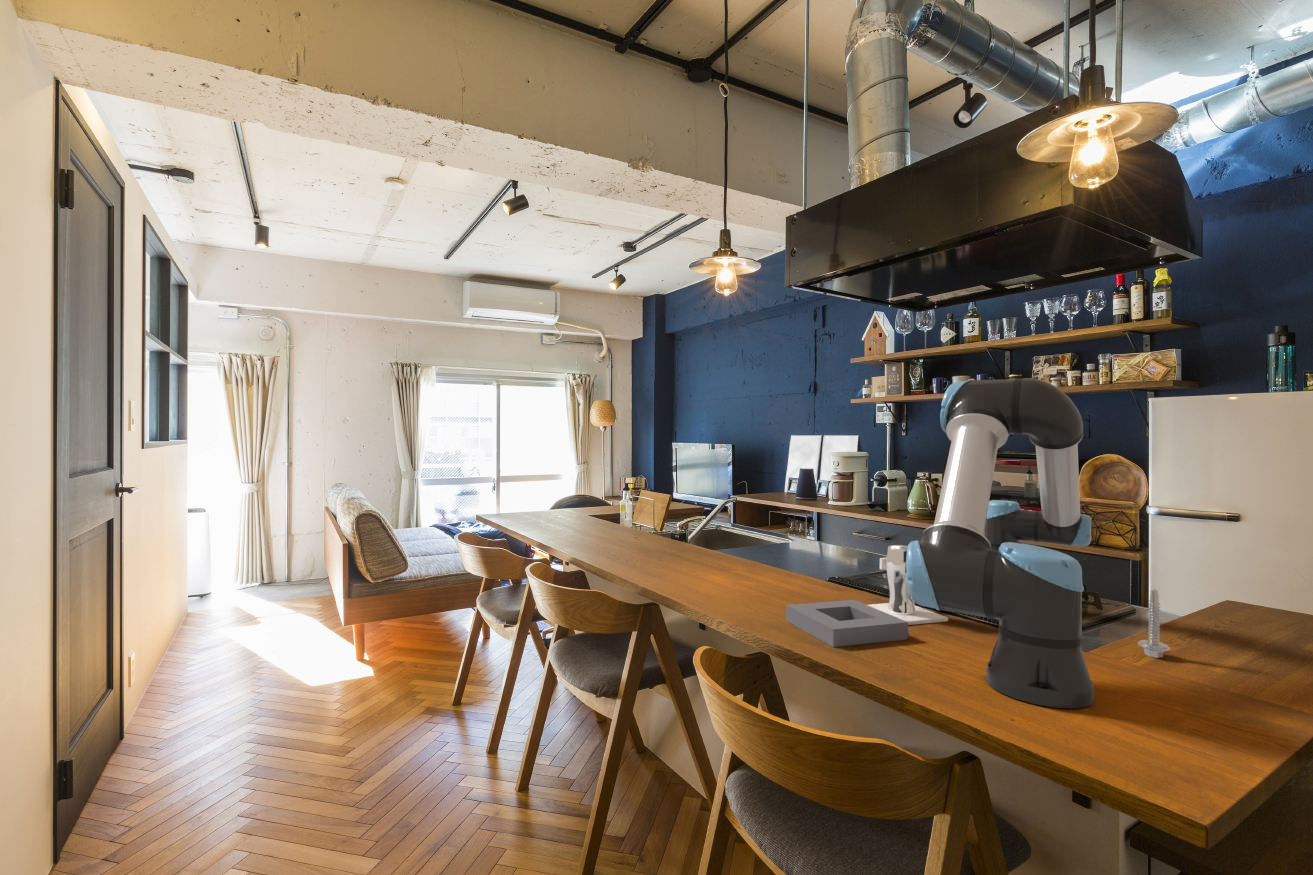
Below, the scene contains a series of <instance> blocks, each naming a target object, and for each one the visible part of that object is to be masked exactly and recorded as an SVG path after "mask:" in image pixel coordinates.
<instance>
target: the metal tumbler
mask: <svg viewBox="0 0 1313 875" xmlns="http://www.w3.org/2000/svg"><path fill="white" fill-rule="evenodd" d="M907 548H908V545H903V544H899V545H898V544H893V545H891V544H890V545H888V546H887V552H886V553H887V554H886V558H887V569H886V575H887V582H888V588H889V589H888V590H889V601H888V603H889V604H888V611H890V612H892V613H895V614H901V615H913V614H915V613H916V610H915V606H916V605H915V604H916V603H915V601H914V600H913V599H912V597H911V595H910V592H909V588H908V582H907V572H906V555H907Z"/></svg>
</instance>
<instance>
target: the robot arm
mask: <svg viewBox="0 0 1313 875" xmlns="http://www.w3.org/2000/svg"><path fill="white" fill-rule="evenodd" d="M940 409H941V410H940V413H939V414H940V415H939V418H940V419H939V420H940V427H941V429H942V431H943V432H944V433H945V434H946V436H947V438H948V440H949V441H950V446H949V451H948V452H949V453H948V457H947V462H946V466H945V470H944V475H943V480H942V484H941V489H940V494H939V498H938V503H937V508H936V514H935V518H934V523H933V525H932V524H931V525H930V526H927V527H926V528H925V529H924V530H923V532H922V536H921V540H917V539H916V540H911V541H910V542H909V543H908V545H907V546H908V548H907V555H906V572H907V582H908V588H909V592H910V595H911V597H912V599H913V600H914V603H915V604H917V606H920V607H927V608H930V609H935V610H937V611H939V612H940V611H944V612H945V611H946V612H951V613H952V612H953V613H956V614H963V615H969V616H975V617H976V616H977V617H982V618H989V619H993V620H998V636H997V639H996V642H995V645H994V647H993V649H992V652H991V655H990V659H989V661H988V662H987V664H986V669H985V672H986V673H985V674H986V675H985V680H986V682H987V684H988V685H989V686H990V687H991V688H992V689H994V690H996V691H997V692H999V693H1001V694H1003V695H1005V696H1008V697H1010V698H1013V699H1016V700H1018V701H1019V700H1020V701H1022V702H1026V703H1029V704H1033V705H1037V706H1044V707H1048V708H1049V707H1050V708H1056V709H1057V708H1059V709H1082V708H1086V707H1089V706H1092V704H1094V702H1095V686H1094V683H1093V680H1091V675H1090V673H1089V669H1088V666H1087V663H1086V662H1087V661H1086V660H1085V657H1084V655H1083V654H1084V653H1083V650H1082V636H1083V634H1082V633H1083V631H1082V630H1083V629H1082V628H1083V627H1082V626H1083V625H1082V620H1083V615H1082V614H1083V613H1082V611H1083V610H1082V609H1083V604H1082V602H1083V599H1082V598H1083V597H1082V596H1083V592H1084V591H1085V587H1084V585H1083V570H1082V565H1081V564H1080V563H1079V561H1078V560H1077V559H1076V558H1074V557H1072V556H1070V555H1069V554H1067V553H1064V552H1061V551H1059V550H1055V549H1050V548H1047V547H1042V546H1038V545H1033V544H1027V543H1019V542H1020V541H1023V542H1033V543H1034V542H1035V543H1043V544H1049V545H1050V544H1052V545H1062V546H1067V547H1072V546H1074V547H1075V546H1076V547H1088V546H1089V545H1090V544H1091V540H1092V518H1091V516H1090V515H1088V514H1084V513H1083V514H1082V513H1081V498H1080V496H1081V495H1080V474H1079V473H1080V472H1079V471H1080V470H1079V469H1080V468H1079V450H1078V448H1079V443H1080V442H1081V441H1082V440H1083V437H1084V422H1083V419H1082V414H1080V410H1079V409H1078V408H1077V406H1076V405H1075V403H1074V402H1073V401H1072V399H1071V398H1070V397H1069V396H1068V395H1067V394H1066V393H1065V392H1064V391H1062V390H1061V389H1060V388H1058V387H1057V386H1055V385H1054V384H1051V383H1050V382H1047V381H1045V380H1042V379H1038V378H1031V377H1028V378H1027V377H1025V378H1013V379H1012V378H1010V379H1009V378H1008V379H1003V378H1001V379H976V380H975V379H969V380H963V381H962V380H960V381H955V382H953V383H950V385H949V386H948V387H947V388H946V390H945V392H944V394H943V397H942V400H941V408H940ZM1009 435H1028V438H1029V440H1030V442H1031V443H1032V444H1033V445H1034V446H1035V454H1036V455H1035V456H1036V457H1035V458H1036V465H1037V476H1038V487H1039V498H1040V506H1041V510H1040V511H1039V510H1028V509H1021V506H1020V503H1019V502H1018V501H1015V500H1014V501H1013V500H1003V499H1002V500H1001V499H999V500H997V499H994V500H990V497H991V491H992V487H993V486H992V485H993V480H994V474H995V467H996V460H997V455H998V449H1000V448H1001V447H1003V446H1004V445H1005V444H1006V442H1007V441H1008V439H1009ZM879 570H881V571H882V570H887V557H879Z"/></svg>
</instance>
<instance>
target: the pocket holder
mask: <svg viewBox="0 0 1313 875" xmlns="http://www.w3.org/2000/svg"><path fill="white" fill-rule="evenodd" d="M868 605H869V604H865V603H863V602H861V601H858V600H855V599H849V600H848V599H845V600H833V601H821V602H808V603H797V604H796V603H795V604H786V605H785V621H786V622H787V623H789V624H791V625H793V626H795V627H796V628H798V629H800V630H802V631H803V632H806V633H807V634H809V635H810V636H813V637H814V638H816V639H818V640H820V641H822V642H823V643H824V644H827V645H829V646H830V647H831V648H836V647H848V646H854V645H856V646H858V645H866V644H876V643H885V642H894V641H903V640H909V625H908V622H907V621H904V620H902V619H899V618H897V617H895V616H892V615H890V614H887V613H885V612H882V611H880V610H878V609H875V608H873V607H870V606H868Z"/></svg>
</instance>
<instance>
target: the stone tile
mask: <svg viewBox="0 0 1313 875" xmlns="http://www.w3.org/2000/svg"><path fill="white" fill-rule="evenodd" d="M888 604H889V602H886V603H872V604H871V603H870V604H867V605H868V606H870V607H873V608H875V609H878V610H880V611H882V612H885V613H887V614H890V615H892V616H895V617H897V618H899V619H902V620H904V621H907V622H908V626H911V625H912V626H914V625H921V624H922V625H924V624H933V623H942V622H949V617H948V616H945V615H942V614H939V613H937V612H934V611H931V610H928V609H926V608H924V607H923V608H922V606H919V605H915V610H916V613H915V614H913V615H901V614H895V613H892V612H890V611H888Z"/></svg>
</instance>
